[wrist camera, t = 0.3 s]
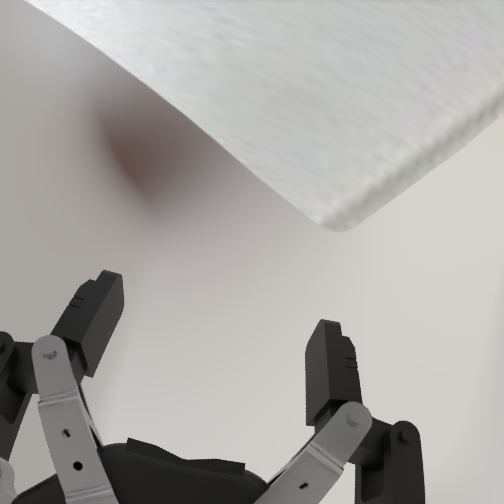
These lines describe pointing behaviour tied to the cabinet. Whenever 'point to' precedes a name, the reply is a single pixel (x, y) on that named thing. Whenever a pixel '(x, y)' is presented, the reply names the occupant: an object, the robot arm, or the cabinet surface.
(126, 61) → the cabinet surface
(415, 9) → the cabinet surface
